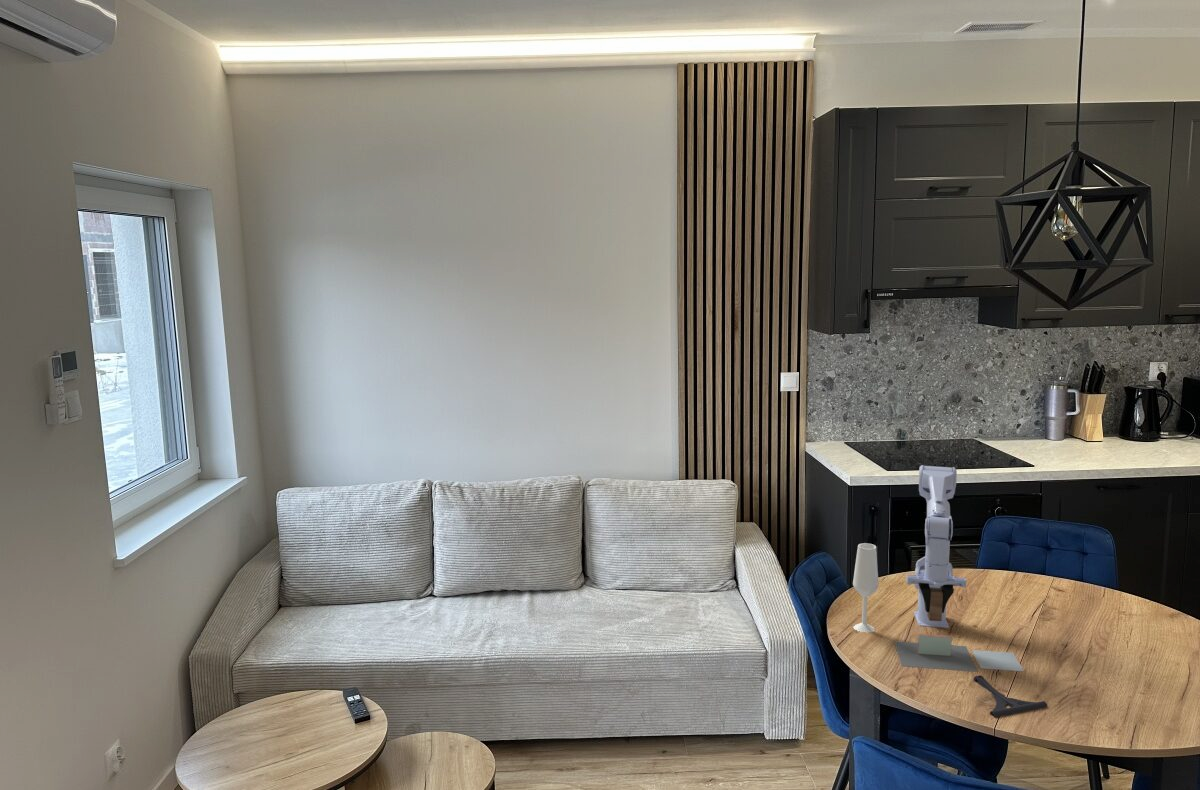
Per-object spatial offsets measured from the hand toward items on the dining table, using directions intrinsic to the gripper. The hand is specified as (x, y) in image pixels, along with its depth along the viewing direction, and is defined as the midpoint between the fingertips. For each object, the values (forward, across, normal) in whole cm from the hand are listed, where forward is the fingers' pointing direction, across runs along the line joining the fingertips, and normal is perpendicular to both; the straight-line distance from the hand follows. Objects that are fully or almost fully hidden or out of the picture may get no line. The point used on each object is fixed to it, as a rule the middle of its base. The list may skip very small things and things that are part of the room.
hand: (934, 610), depth 226 cm
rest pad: (+9, +14, -8) cm, 19 cm away
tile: (+9, -1, -6) cm, 11 cm away
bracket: (+10, +10, -26) cm, 29 cm away
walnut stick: (+2, 0, 0) cm, 2 cm away
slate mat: (+9, -1, -7) cm, 12 cm away
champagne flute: (+10, -17, +7) cm, 20 cm away
